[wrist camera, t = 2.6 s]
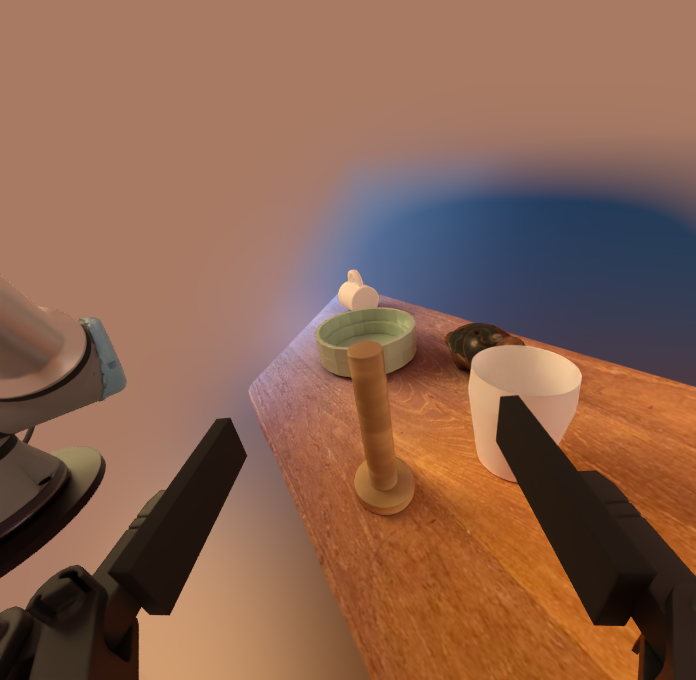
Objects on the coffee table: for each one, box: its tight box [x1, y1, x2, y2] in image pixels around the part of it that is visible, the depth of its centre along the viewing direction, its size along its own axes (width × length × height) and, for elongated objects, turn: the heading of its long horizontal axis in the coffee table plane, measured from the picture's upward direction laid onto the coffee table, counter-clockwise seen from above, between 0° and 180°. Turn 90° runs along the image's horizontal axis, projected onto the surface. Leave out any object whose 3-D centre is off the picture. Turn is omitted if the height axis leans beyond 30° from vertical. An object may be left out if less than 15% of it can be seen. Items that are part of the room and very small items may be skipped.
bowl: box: [315, 307, 417, 377], centre depth 56 cm, size 20×20×6 cm
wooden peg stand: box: [347, 341, 415, 515], centre depth 26 cm, size 6×6×17 cm
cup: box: [468, 345, 582, 482], centre depth 28 cm, size 9×9×12 cm
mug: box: [338, 270, 379, 311], centre depth 78 cm, size 8×10×12 cm
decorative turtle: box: [445, 323, 525, 370], centre depth 45 cm, size 10×15×8 cm, turn 27°
